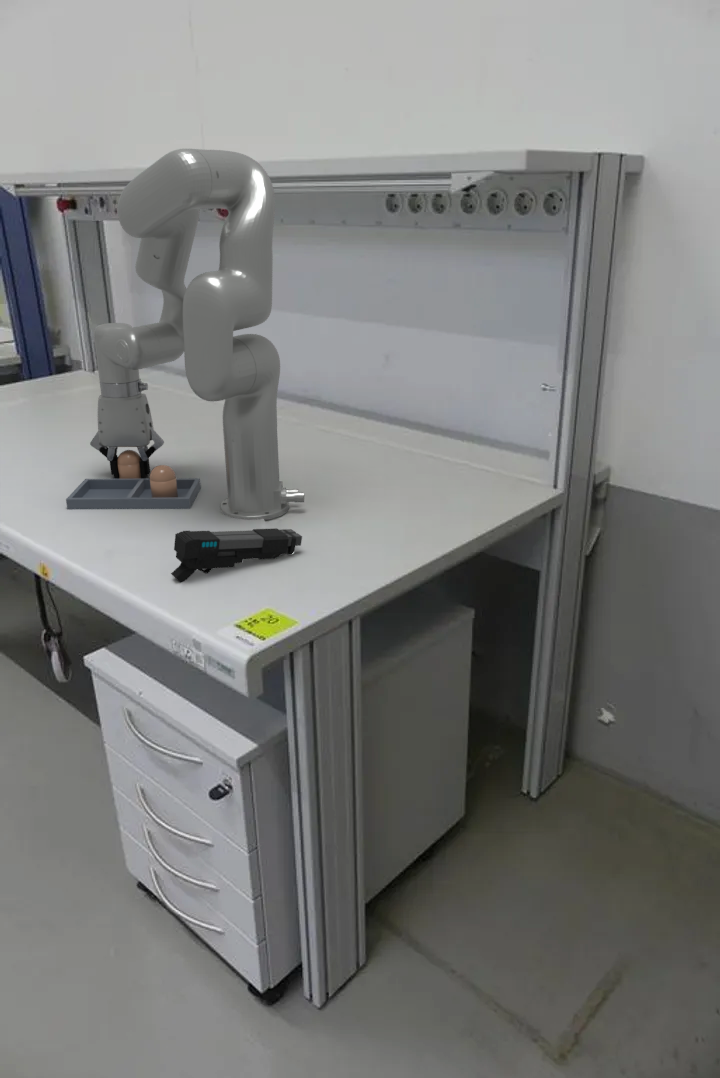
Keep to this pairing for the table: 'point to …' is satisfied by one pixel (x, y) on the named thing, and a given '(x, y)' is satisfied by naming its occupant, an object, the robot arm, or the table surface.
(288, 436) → the table surface
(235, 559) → the gun
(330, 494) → the table surface
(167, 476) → the seated egg
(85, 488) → the divided grey tray
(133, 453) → the egg
